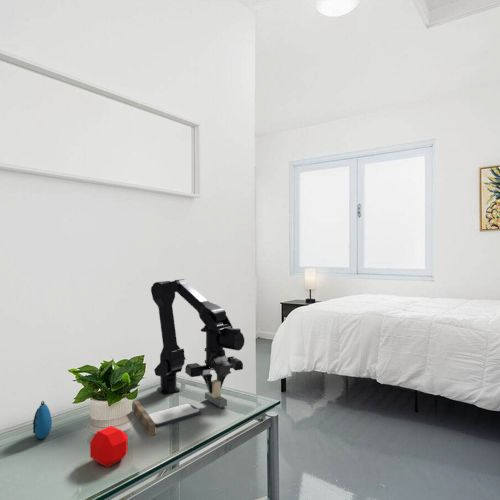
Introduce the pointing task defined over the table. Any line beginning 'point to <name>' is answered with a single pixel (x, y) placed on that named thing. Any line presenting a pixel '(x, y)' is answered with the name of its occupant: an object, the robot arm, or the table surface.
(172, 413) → the smartphone
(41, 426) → the ornament
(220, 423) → the table surface
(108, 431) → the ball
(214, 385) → the scraper
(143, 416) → the walnut bar
